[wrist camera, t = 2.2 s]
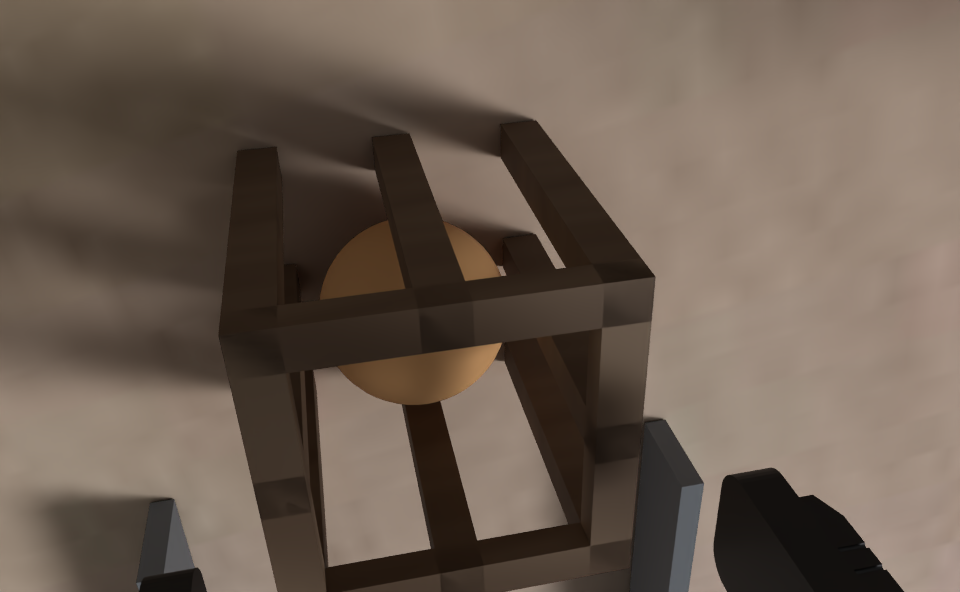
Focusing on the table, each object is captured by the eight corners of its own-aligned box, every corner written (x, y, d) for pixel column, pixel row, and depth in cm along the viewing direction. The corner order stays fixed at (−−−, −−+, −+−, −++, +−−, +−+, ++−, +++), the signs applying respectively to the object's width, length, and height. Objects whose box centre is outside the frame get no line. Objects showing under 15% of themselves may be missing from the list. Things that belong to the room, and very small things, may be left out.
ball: (303, 196, 19) (310, 289, 15) (484, 176, 19) (528, 261, 16) (326, 348, 21) (336, 458, 17) (488, 325, 21) (528, 428, 18)
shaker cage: (237, 150, 18) (218, 335, 12) (536, 120, 19) (655, 276, 13) (283, 394, 21) (287, 633, 15) (535, 358, 22) (629, 568, 16)
